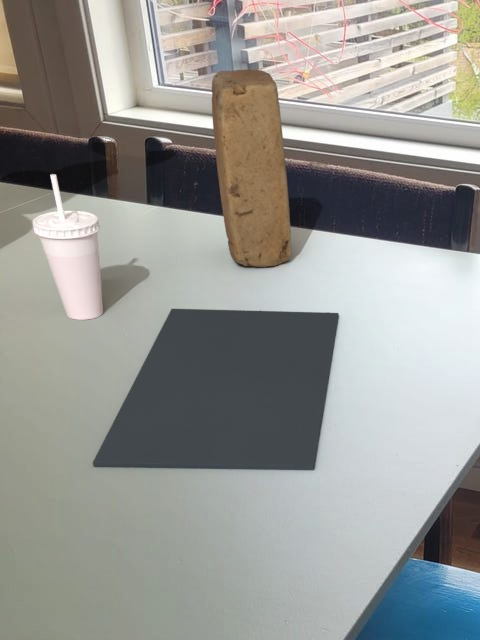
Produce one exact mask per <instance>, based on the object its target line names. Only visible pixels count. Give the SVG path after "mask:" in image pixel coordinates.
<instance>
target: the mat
mask: <svg viewBox="0 0 480 640" xmlns="http://www.w3.org/2000/svg"><path fill="white" fill-rule="evenodd" d="M339 316H340V315H339V312H319V311H318V312H317V311H316V312H315V311H283V310H282V311H276V310H246V309H245V310H241V309H234V310H233V309H203V308H171V309H170V311H169V313H168V315H167V317H166V319H165V321H164V322H163V325H162V326H161V329H160V330H159V332H158V334H157V336H156V338H155V340H154V342H153V344H152V346H151V348H150V349H149V352H148V354H147V356H146V358H145V360H144V362H143V363H142V366H141V367H140V370H139V371H138V373H137V375H136V377H135V379H134V381H133V383H132V385H131V387H130V389H129V391H128V393H127V395H126V397H125V399H124V401H123V403H122V404H121V407H120V409H119V411H118V412H117V414H116V416H115V418H114V420H113V422H112V424H111V426H110V428H109V430H108V432H107V433H106V436H105V438H104V440H103V441H102V443H101V445H100V448H99V449H98V451H97V453H96V455H95V457H94V459H93V461H92V466H93V467H98V468H154V469H155V468H156V469H157V468H159V469H160V468H161V469H162V468H166V469H167V468H168V469H169V468H170V469H222V470H223V469H225V470H226V469H227V470H228V469H229V470H285V471H287V470H288V471H289V470H290V471H291V470H295V471H296V470H297V471H299V470H300V471H314V470H315V465H316V459H317V453H318V446H319V440H320V435H321V429H322V423H323V422H322V421H323V415H324V409H325V403H326V398H327V397H326V396H327V391H328V385H329V379H330V378H329V377H330V372H331V365H332V360H333V353H334V348H335V341H336V336H337V335H336V334H337V329H338V323H339Z"/></svg>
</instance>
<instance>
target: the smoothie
mask: <svg viewBox="0 0 480 640" xmlns="http://www.w3.org/2000/svg"><path fill="white" fill-rule="evenodd" d="M49 176H50V180H51V181H50V182H51V187H52V191H53V195H54V200H55V204H56V209H57V211H50V212H46V213H42V214H40V215H37V216H36V217H35V218H33V219H32V226H33V232H34V233H35V235H37V236H38V238H39V241H40V243H41V246H42V249H43V252H44V255H45V257H46V261H47V263H48V266H49V269H50V271H51V274H52V277H53V280H54V283H55V286H56V288H57V291H58V294H59V298H60V300H61V303H62V306H63V308H64V311H65V314H66V316H67V317H68V318H69V319H72V320H77V321H84V320H92V319H96V318H99V317H101V316H102V315H103V314H104V307H103V306H104V305H103V291H102V277H101V263H100V246H99V236H98V235H99V233H98V232H99V231H100V230H101V225H100V222H99V217H98V216H97V215H96V214H94V213H91V212H88V211H82V210H64V206H63V201H62V197H61V196H62V195H61V191H60V186H59V181H58V176H57V174H55V173H51V174H50V175H49Z"/></svg>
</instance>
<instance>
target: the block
mask: <svg viewBox="0 0 480 640" xmlns="http://www.w3.org/2000/svg"><path fill="white" fill-rule="evenodd" d="M280 105H281V104H280V101H279V92H278V86H277V83H276V81H275V79H274V78H273V77H272V75H271V74H270V73H268V72H266V71H265V70H262V69H234V70H220V71H218V72H217V73H215V75H213V77H212V81H211V113H212V129H213V139H214V148H215V150H214V151H215V159H216V160H215V161H216V168H217V178H218V185H219V195H220V202H221V208H222V215H223V223H224V229H225V234H226V238H227V245H228V251H229V254H230V256H231V259H232V260H233V261H234V262H235V263H236V264H239V265H242V266H243V267H255V268H266V267H267V268H268V267H276V266H278V265H280V264H283V263H285V262H287V261H288V260H290V259H291V256H292V235H291V234H292V233H291V232H292V231H291V216H290V200H289V188H288V175H287V166H286V165H287V164H286V156H285V155H286V154H285V148H284V147H285V145H284V144H285V143H284V136H283V127H282V118H281V117H282V116H281V106H280Z"/></svg>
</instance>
